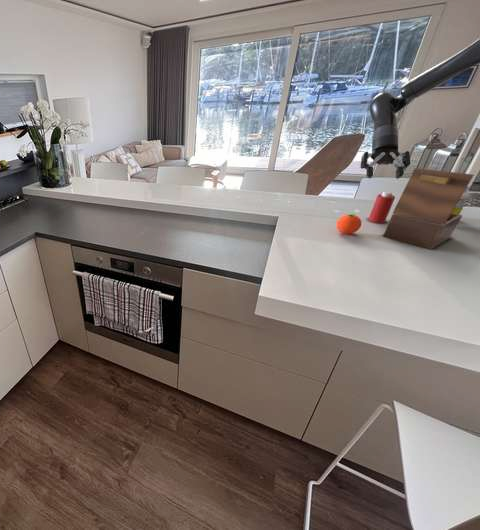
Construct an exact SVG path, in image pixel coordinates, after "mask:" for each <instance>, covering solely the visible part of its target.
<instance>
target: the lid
mask: <svg viewBox="0 0 480 530" xmlns="http://www.w3.org/2000/svg"><path fill="white" fill-rule="evenodd" d="M474 176H475V175H474V174H473V173H464V172H463V173H462V172H453V171H446V170H445V171H444V170H436V169H426V168H417V167H414V169H413V170H412V173H411V174H410V177H409V179H408V180H407V183H406V185H405V187H404V189H403V191H402V193H401V195H400V197H399V199H398V201H397V202H396V206H395V207H394V209H393V211H392V215H393V214H397V215H402V216H406V217H411V218H416V219H420V220H425V221H429V222H434V223H438V224H443V225H445V223H446V222H447V220H448V218H449V217H450V215H451V213H452V211H453V210H454V208H455V206H456V205H457V203H458V201H459V199H460V198H461V196H462V194H463V193H464V191H465V189H466V187H467V186H468V184H469V185H470V183H471V181H472V180H473V177H474Z"/></svg>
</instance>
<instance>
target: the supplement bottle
mask: <svg viewBox="0 0 480 530" xmlns="http://www.w3.org/2000/svg"><path fill="white" fill-rule="evenodd" d="M470 188H471V184H470V183H469V184H468V186H467V187H466V189H465V191H464V193H463V194H462V196H461V198H460V199H459V201H458V203H457V205H456V206H455V208H454V210H453V211H452V213H453V214H458V215H461V212H462V211H463V209H464V207H465V205H466V203H467V201H468V200H469V198H470V195H471V194H470V192H468V190H469V189H470Z"/></svg>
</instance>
